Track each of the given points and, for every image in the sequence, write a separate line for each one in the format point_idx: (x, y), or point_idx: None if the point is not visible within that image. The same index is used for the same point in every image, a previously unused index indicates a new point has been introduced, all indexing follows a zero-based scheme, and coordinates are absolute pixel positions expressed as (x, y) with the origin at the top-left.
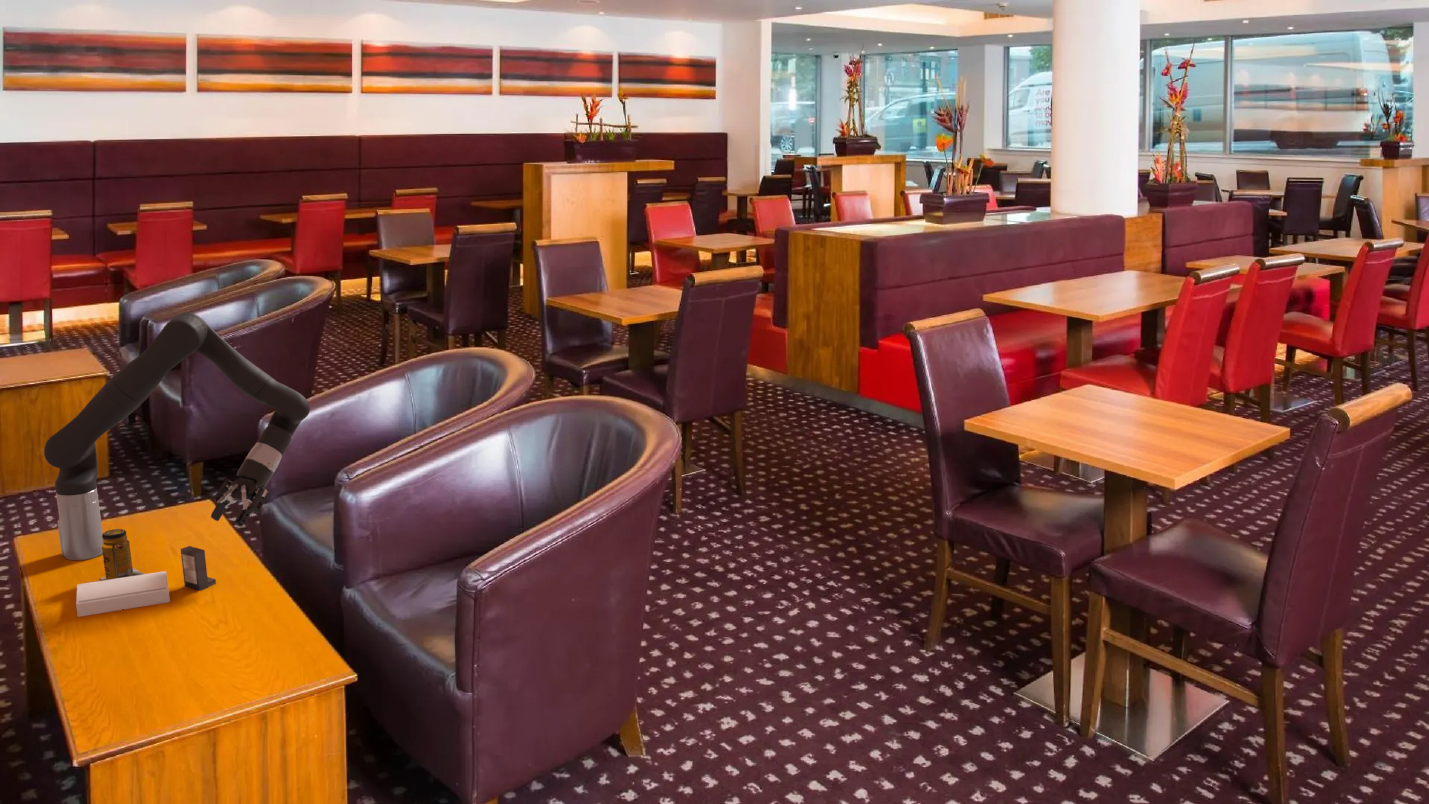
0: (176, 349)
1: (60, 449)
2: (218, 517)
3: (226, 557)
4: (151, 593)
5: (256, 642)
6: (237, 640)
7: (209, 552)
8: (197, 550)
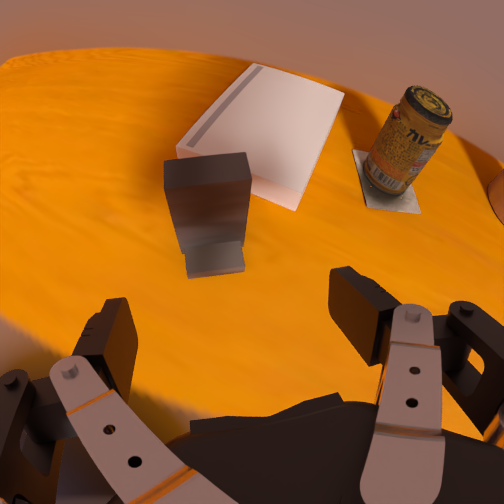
0: None
1: None
2: (337, 312)
3: (361, 399)
4: (194, 125)
5: None
6: None
7: None
8: (181, 173)
